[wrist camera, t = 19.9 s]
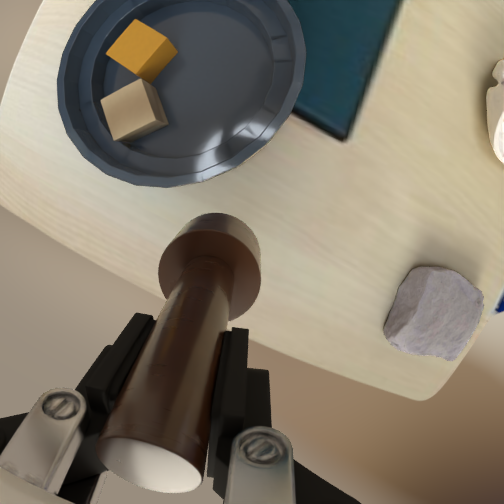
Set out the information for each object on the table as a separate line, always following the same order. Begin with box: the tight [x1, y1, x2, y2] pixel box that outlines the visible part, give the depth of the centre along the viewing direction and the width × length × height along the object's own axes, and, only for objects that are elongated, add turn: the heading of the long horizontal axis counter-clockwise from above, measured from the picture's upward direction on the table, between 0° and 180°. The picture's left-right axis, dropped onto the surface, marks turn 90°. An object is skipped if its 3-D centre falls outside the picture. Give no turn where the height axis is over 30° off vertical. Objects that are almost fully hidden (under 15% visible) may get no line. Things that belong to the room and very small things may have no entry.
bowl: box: [57, 0, 306, 188], centre depth 23 cm, size 21×21×6 cm
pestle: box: [95, 213, 261, 493], centre depth 10 cm, size 4×4×12 cm
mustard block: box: [106, 19, 178, 84], centre depth 22 cm, size 4×4×4 cm
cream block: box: [100, 79, 169, 142], centre depth 24 cm, size 4×4×4 cm
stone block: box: [383, 267, 484, 361], centre depth 31 cm, size 12×5×10 cm
